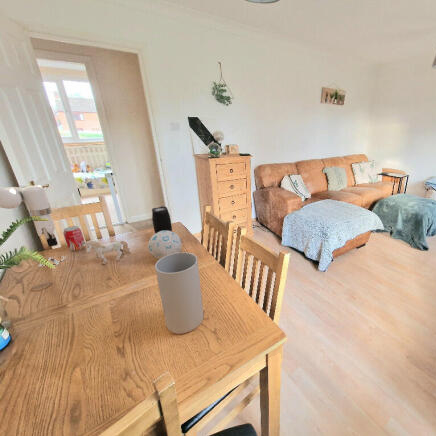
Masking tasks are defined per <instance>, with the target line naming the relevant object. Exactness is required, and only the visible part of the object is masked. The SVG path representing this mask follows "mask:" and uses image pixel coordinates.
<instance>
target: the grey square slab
mask: <svg viewBox="0 0 436 436" xmlns="http://www.w3.org/2000/svg"><path fill="white" fill-rule="evenodd" d="M65 256H66V257H65ZM65 256H64V255H63V256H62V257H63V259H62V260H61V261H62V262H63V261H64V260H65V259H67V257H68V255H65ZM53 257H54V258H55V257H56V256H53ZM53 257H52V256H51V257H48V258H49V259H48V260H49V261H50V262H51V261H52V262H54V263H55V264H56V265H55V266H58V265H59V264H60V263H61V262H60V261H57V260H56V259H54V258H53ZM64 257H65V258H64ZM50 259H51V260H50ZM59 262H60V263H59ZM38 267H46V266H45V265H43V266H42V264H41V263H40V264H38V265H37V268H38Z"/></svg>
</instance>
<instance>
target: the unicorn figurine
mask: <svg viewBox="0 0 436 436" xmlns="http://www.w3.org/2000/svg"><path fill="white" fill-rule="evenodd" d="M82 245H84V246H83V247H79V248H83V249H85V251H86V253H87V254H90V253H92V251H91V250H93V252H94V253H95V254H94V257H95V258H96V260H98V261H99V262H102V263H101V265H106V263H108V264H109V262H108V258H106V257H105V256H104V254H107V253H108V254H109V253H111V252H113V251H114V252H116V253H117V256H116V257H115V259H116V260H115V261H116V262H119V261H120V259H123V257H125V256H129V255H131V254H132V252H131V250H130V248H129V244H128V243H127V241H125V240H120V241H111V242H109V243H108V242H107V243H102V242H100V241H97V240H91V239H90V240H88V241H85V244H82Z"/></svg>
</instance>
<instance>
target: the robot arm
mask: <svg viewBox="0 0 436 436" xmlns="http://www.w3.org/2000/svg"><path fill="white" fill-rule="evenodd" d="M22 202H24V203H25V206H26V209H27V211H28V213H29V216H30V217H31V218H33V217H32V216H39V217H41V218H46V219H48V220H50V221H48V222H47V221H34V220H33V224H34V227H35V230H36V234H37V235H38V237H42V236H44V238H45V239H44V240H46V243H47V245H48V247H55V246H58V245H59V244H58V240H57V238H56V235H55V230H56V225H55V222H54V219H53V217H52V214H53V210H52V207H51V205H50V203H49V199H48V197H47V194H46V190H45V189H44V187H43V186H41V185H27V186H9V187H8V186H7V187H2V186H0V208H2V209H5V210H6V209H7V210H10V209H16V208H17V207H19V206H20V205H21V203H22Z"/></svg>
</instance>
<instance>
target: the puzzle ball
mask: <svg viewBox="0 0 436 436" xmlns="http://www.w3.org/2000/svg"><path fill="white" fill-rule="evenodd" d="M182 243H183V242H182V239H181V237H180V236H179V235H178V234H177V233H176V232H175V231H173V230H172V231H160V232H158V233H155V232H154V234H153V235H152V236H151V237H150V238H149V241H148V244H147V249H148V253H149V254H150V255H151V256H152V257H153V258H154V259H157V260H160V259H161V258H163V257H165V256H167V255H170V254H173V253H180V252H181V250H182V245H183V244H182Z"/></svg>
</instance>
